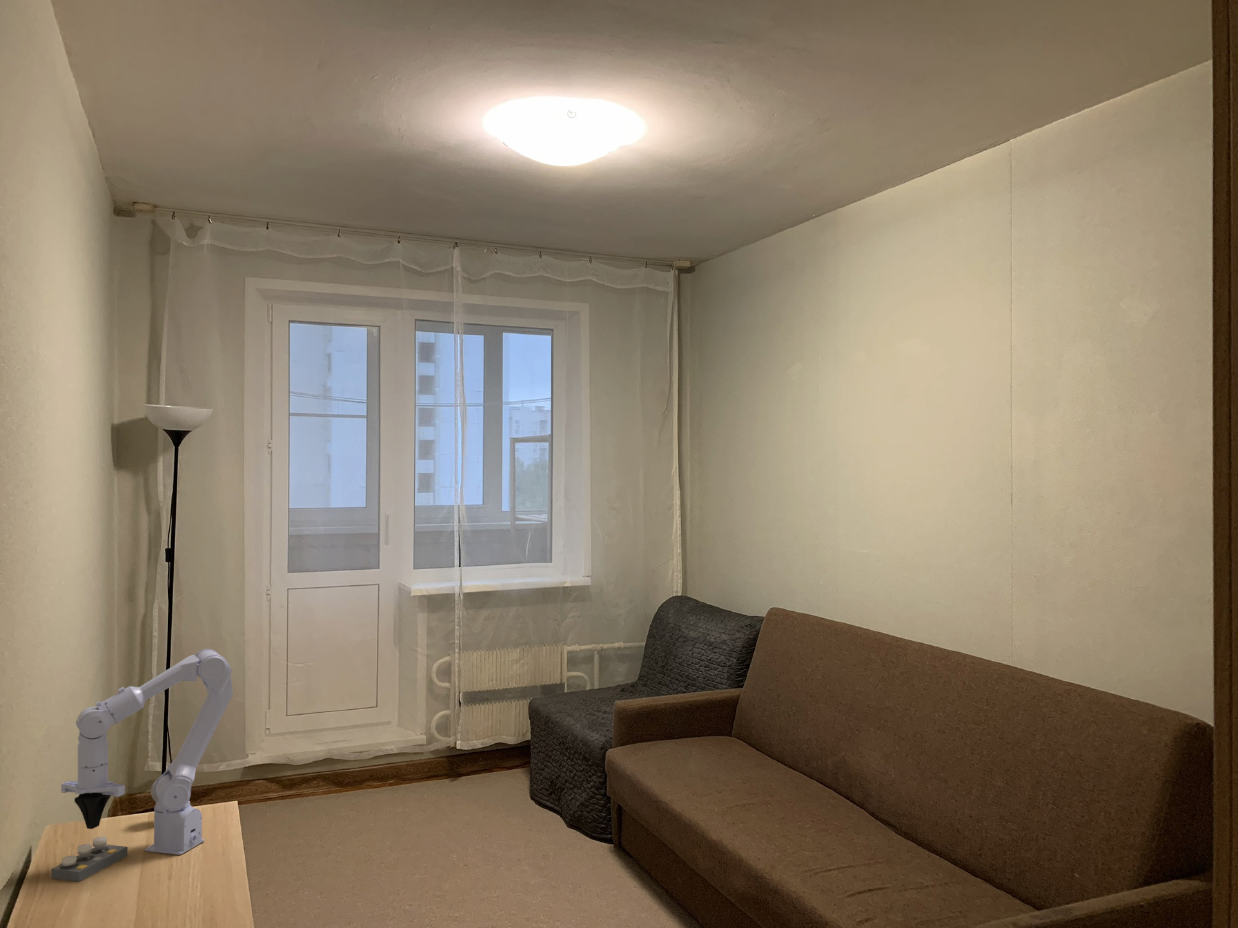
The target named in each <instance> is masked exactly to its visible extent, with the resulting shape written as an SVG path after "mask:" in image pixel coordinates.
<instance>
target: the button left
mask: <svg viewBox="0 0 1238 928" xmlns="http://www.w3.org/2000/svg"><path fill="white" fill-rule="evenodd" d="M77 856H78V855H74V854H73V855H67V856H64V857H62V858H61V864H62V866H71V865H74V864H76V862H77Z"/></svg>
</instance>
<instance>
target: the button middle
mask: <svg viewBox="0 0 1238 928" xmlns="http://www.w3.org/2000/svg"><path fill="white" fill-rule="evenodd" d="M92 848H93V843H92V844H91V843H83V844H81V845H79V846H78V847H77V854H78V855H80V854H87V853H90V852H91V851H92Z"/></svg>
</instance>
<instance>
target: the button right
mask: <svg viewBox="0 0 1238 928" xmlns="http://www.w3.org/2000/svg"><path fill="white" fill-rule="evenodd" d="M107 842H108V841H107V836H98V837H95V838H93V839H92V848H94V847H100V846H103V845H105V844H106V845H107Z"/></svg>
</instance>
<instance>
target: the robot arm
mask: <svg viewBox="0 0 1238 928" xmlns="http://www.w3.org/2000/svg"><path fill="white" fill-rule="evenodd" d="M198 677H199V678H200V679H201V680H202V681H203V685H204V687H205V689H206V692H207V696H206V698H205V700H204V702H203V704H202V706H201V708H200V709H199V711H198V714H197V715H196V717H195V719H194V722H193V723H192V725H191V727H190V729H189V731H188V733H187V735H186V737H185V739H184V740H183V742H182V745H181V746H180V749H179V751H178V753H177V754H176V757H175V758H174V760H173V761H172V762H171V763H170V764H169V765H168V767H167V768H166V769H165V771H164V772H163V774H161V775H160V776H159V777H158V778H157V779H156V780H157V781H156V780H155V781H156V783H155V785H154V791H155V794H156V795H157V797H158V798H159V800H158V802H157V804H156V803H155V805H154V811H153V814H154V815H153V816H154V817H153V819H154V820H153V822H154V823H153V825H154V826H153V844H150V845H149V846H148V847H146V848H144V851H145V852H148V853H149V852H150V853H159V854H169V855H170V854H171V855H182V854H184V853H186V852H187V851H189V850H191V849H193V848H194V847H196V846H198V845H200V844H202V843H203V842H204V841H205V839H204V838H203V835H202V834H203V831H202V830H203V829H202V828H203V825H202V824H203V815H202V811H201V810H200V809H198V808H195V807H194V806H192V805H191V801H190V799H191V793H192V786H193V783H194V782H195V777H196V770H197V769H198V768H197V767H198V765H199V763H200V762H201V759H202V757H203V756H204V754H205V751H206V749H207V748H208V746H209V744H210V742H211V739H212V738H213V735H214V733H215V731H216V730H217V728H218V725H219V723H220V722H221V721H222V720H221V719H222V717H223V716H224V713H225V712H226V709H227V708H228V706H229V703H230V701H231V700H232V698H233V694H234V689H233V682H232V681H233V678H232V668H231V665H230V664H229V662H228V660H227V659H226V658H225V657H224V656H222V655H220V653H219V652H217V650H215V649H212V648H203V649H202V650H199V651H198V652H197V653H196V654H191V655H188V656H187V657H185V658H184V659H182V660H181V661H179V662H177V663H176V664H174V665H172V666H171V667H170V668H168V669H166V670H165V671H163V672H161V673H159V674H158V675H157V676H155V677H153V678H151V679H150V680H148V681H146V682H145V683H143V684H141V686H140V685H139V686H132V685H129V686H128V687H126V688H125V687H124V686H122V687H120V688H118V689H117V693H115V694H114V695H112V696H109V697H108V698H107V699H104V700H103V701H102V702H101V701H100V700H98V701H97V702H95V706H90V707H87V708H84V709H83V710H81V712H80V714H79V715H78V717H77V719H76V722H75V723H76V727H77V728H78V731H79V732H78V736H77V737H78V738H77V741H78V744H77V780H68V781H66V782H63V783H61V787H60V788H61V790H60V791H61V793H62V794H66V793H75V795H78V796H77V797H75V798H74V803H75V805H77V807H78V808H79V811H80V812H81V814H82V817H83V821H84V824H85V827H86V829H88V830H93V829H95V828H97V827H99V826H100V823H101V819H102V816H103V813H104V810H105V807H106V806H107V803H108V801H109V800H110V798H111V796H114V798H119V797H121V796H123V795H125V794H126V785H125V784H119V783H116V782H114V781H110V780H109V739H108V731H109V730H110V727H111V726H113V725H116V724H118V723H120V722H122V721H123V720H125V719H126V718H129V717H130V716H132V715H134V714H136V713H137V712H139V711H140V710H142V709H144V706H145V704H146V702H147V700H149V699H151V698H152V697H155V695H158V694H160V693H162V692H164V691H165V690H167V689H169V688H171V687H174V685H177V684H179V683H180V682H198Z"/></svg>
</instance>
